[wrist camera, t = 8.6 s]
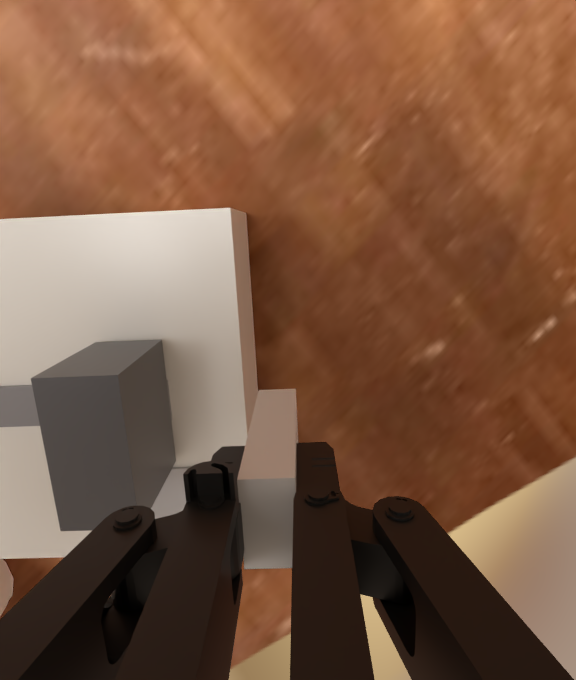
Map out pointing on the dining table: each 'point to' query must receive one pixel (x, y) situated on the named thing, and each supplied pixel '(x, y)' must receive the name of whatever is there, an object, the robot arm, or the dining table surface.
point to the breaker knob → (105, 429)
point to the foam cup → (5, 585)
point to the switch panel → (122, 325)
